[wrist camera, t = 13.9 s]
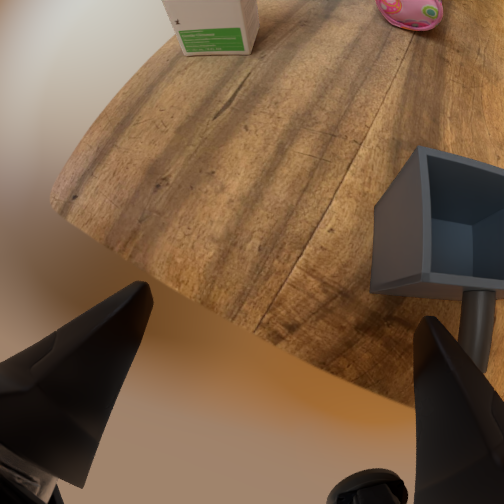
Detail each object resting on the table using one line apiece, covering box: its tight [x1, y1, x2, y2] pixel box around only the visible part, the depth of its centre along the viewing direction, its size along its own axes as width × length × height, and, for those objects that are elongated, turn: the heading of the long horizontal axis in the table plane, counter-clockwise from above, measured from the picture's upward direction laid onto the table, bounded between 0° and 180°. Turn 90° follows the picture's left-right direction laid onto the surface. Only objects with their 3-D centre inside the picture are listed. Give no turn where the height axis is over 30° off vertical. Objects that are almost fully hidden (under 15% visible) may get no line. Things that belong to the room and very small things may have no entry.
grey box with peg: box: [370, 146, 504, 373], centre depth 16 cm, size 12×10×10 cm
